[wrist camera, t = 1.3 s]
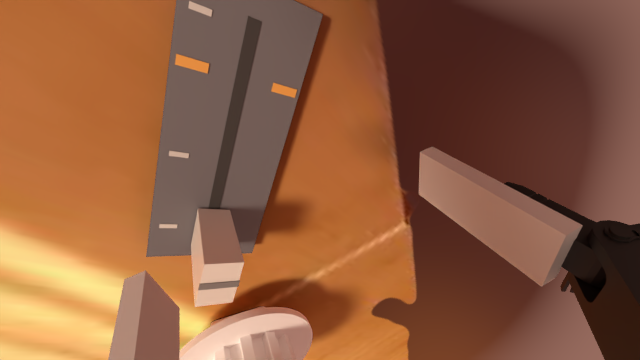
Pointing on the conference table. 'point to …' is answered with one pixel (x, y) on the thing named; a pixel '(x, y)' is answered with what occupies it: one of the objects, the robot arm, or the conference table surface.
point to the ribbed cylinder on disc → (253, 337)
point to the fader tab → (215, 257)
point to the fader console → (227, 113)
